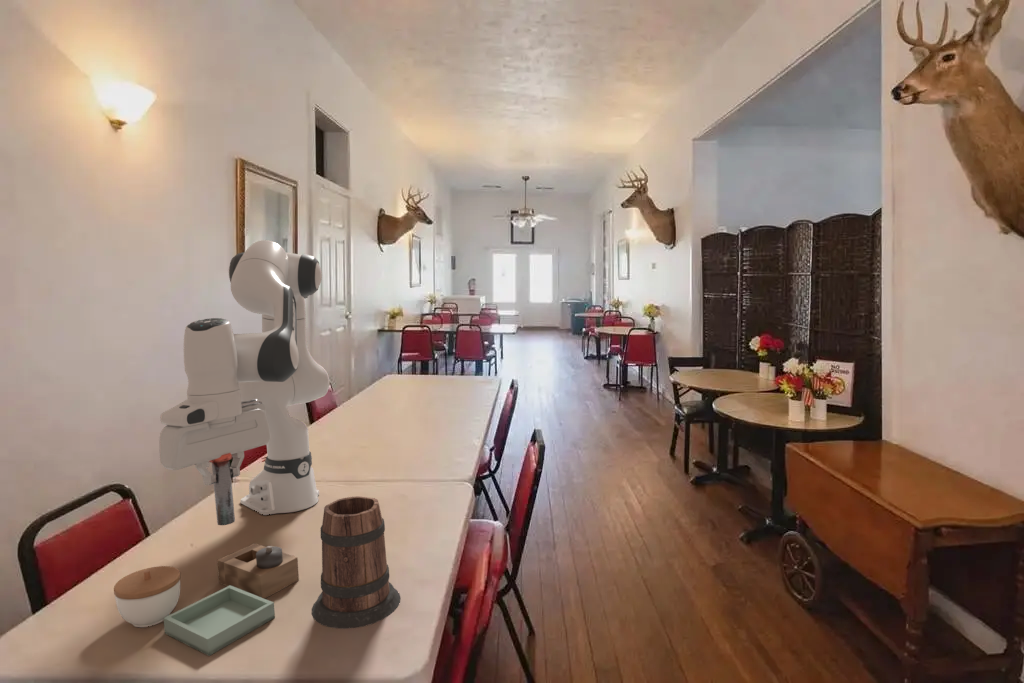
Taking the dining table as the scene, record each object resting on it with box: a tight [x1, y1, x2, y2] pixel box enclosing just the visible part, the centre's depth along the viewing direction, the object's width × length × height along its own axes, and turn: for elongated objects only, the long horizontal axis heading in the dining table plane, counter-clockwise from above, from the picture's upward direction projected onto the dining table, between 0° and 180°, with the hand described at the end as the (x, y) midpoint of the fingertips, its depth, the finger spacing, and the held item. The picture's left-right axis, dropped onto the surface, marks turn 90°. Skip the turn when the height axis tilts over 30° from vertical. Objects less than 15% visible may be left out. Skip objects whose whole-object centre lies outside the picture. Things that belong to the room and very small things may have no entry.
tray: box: [163, 585, 276, 657], centre depth 112 cm, size 13×13×3 cm
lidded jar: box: [113, 565, 181, 628], centre depth 115 cm, size 11×11×9 cm
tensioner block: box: [216, 543, 300, 599], centre depth 128 cm, size 14×9×8 cm, turn 59°
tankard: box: [311, 496, 402, 630], centre depth 121 cm, size 24×17×20 cm
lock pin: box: [209, 453, 236, 526], centre depth 114 cm, size 4×4×13 cm
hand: (222, 480), depth 114 cm, fingers closed on lock pin, 3 cm apart
